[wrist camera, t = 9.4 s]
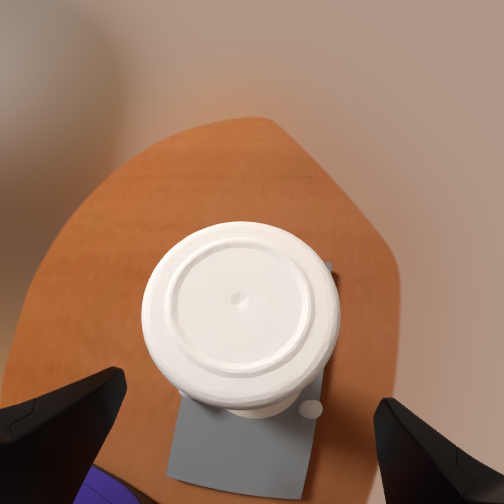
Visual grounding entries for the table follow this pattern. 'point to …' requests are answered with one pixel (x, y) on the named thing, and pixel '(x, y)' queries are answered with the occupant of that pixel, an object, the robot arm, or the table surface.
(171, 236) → the table surface
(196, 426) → the pin board
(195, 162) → the table surface
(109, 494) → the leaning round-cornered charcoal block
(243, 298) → the sprinkles bottle
